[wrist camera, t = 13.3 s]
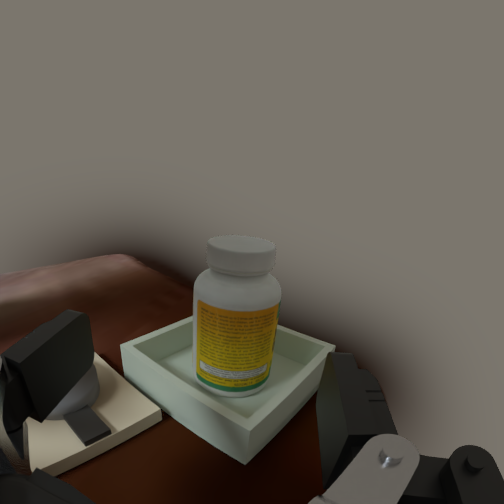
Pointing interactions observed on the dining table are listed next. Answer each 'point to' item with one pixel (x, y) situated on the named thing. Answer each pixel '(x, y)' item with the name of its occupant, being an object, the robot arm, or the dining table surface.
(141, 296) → the dining table surface
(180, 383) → the tray
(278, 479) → the dining table surface
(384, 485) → the robot arm
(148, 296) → the dining table surface
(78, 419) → the beige board with disc
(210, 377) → the supplement bottle
